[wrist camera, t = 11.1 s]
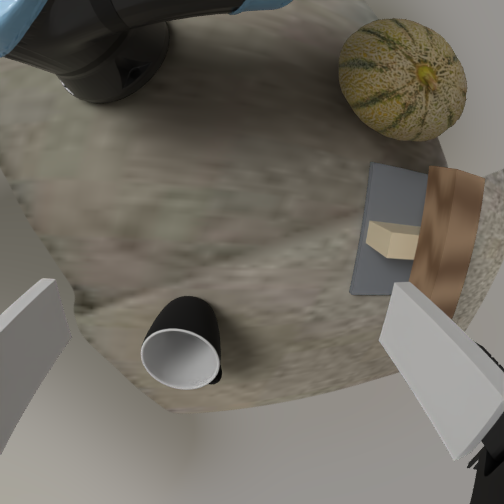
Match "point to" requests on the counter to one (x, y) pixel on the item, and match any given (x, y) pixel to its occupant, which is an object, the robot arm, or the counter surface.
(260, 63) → the counter surface
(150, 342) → the mug
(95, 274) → the counter surface
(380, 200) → the fulcrum
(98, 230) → the counter surface
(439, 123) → the cantaloupe
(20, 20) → the robot arm
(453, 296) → the beam
